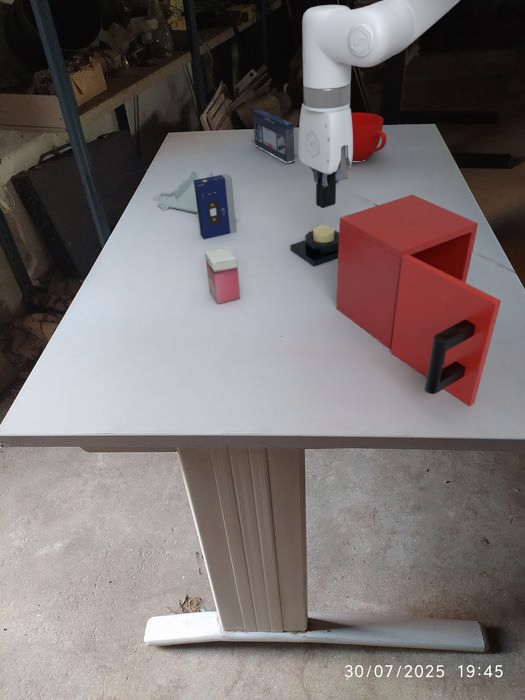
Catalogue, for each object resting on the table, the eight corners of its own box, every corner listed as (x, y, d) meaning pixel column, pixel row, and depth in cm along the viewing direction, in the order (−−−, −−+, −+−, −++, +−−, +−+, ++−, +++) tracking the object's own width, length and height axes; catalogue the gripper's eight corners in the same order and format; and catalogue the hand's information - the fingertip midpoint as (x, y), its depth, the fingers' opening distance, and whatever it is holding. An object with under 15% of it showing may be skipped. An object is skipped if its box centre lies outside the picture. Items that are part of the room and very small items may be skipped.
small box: (208, 290, 95) (203, 250, 90) (232, 285, 96) (227, 245, 91) (217, 305, 91) (212, 263, 86) (241, 299, 92) (237, 258, 87)
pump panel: (331, 236, 109) (332, 222, 107) (356, 251, 103) (357, 237, 101) (290, 250, 105) (289, 236, 103) (313, 267, 99) (314, 252, 97)
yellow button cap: (325, 232, 105) (326, 223, 103) (338, 239, 102) (338, 231, 101) (308, 237, 103) (308, 229, 102) (321, 245, 100) (321, 237, 99)
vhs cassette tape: (254, 146, 156) (252, 110, 150) (263, 144, 157) (261, 108, 151) (285, 165, 143) (284, 125, 136) (295, 162, 144) (294, 123, 137)
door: (438, 426, 66) (460, 322, 57) (360, 368, 76) (368, 270, 66) (474, 403, 69) (501, 300, 60) (395, 350, 79) (407, 253, 69)
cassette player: (203, 239, 110) (196, 182, 103) (200, 235, 112) (192, 178, 105) (237, 232, 112) (232, 175, 105) (233, 227, 114) (228, 171, 107)
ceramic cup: (363, 175, 134) (365, 133, 128) (320, 158, 145) (321, 119, 139) (401, 163, 139) (405, 122, 133) (357, 147, 150) (359, 109, 144)
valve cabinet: (458, 318, 84) (478, 223, 74) (389, 349, 79) (401, 251, 69) (401, 283, 93) (412, 194, 83) (336, 309, 88) (339, 217, 78)
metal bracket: (184, 163, 130) (237, 172, 123) (192, 184, 134) (243, 193, 128) (151, 201, 123) (205, 211, 117) (160, 221, 128) (212, 232, 121)
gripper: (282, 92, 91) (286, 197, 102) (335, 109, 80) (333, 224, 91) (318, 85, 93) (318, 188, 105) (375, 100, 83) (368, 212, 94)
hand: (325, 204), depth 98 cm, fingers closed
